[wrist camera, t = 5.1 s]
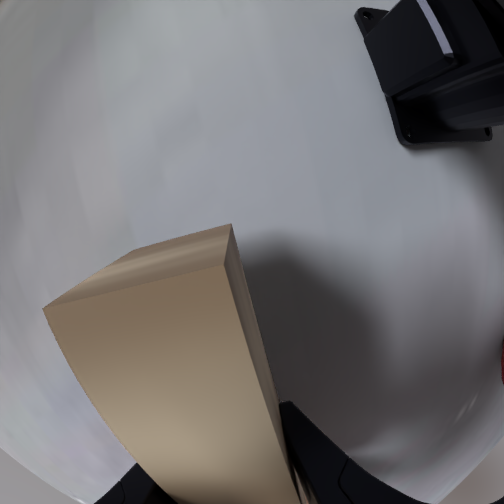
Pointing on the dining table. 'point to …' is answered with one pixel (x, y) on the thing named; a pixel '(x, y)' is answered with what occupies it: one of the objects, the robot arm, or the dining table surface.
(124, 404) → the curved wooden plank
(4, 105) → the dining table surface
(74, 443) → the dining table surface
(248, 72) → the dining table surface
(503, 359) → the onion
